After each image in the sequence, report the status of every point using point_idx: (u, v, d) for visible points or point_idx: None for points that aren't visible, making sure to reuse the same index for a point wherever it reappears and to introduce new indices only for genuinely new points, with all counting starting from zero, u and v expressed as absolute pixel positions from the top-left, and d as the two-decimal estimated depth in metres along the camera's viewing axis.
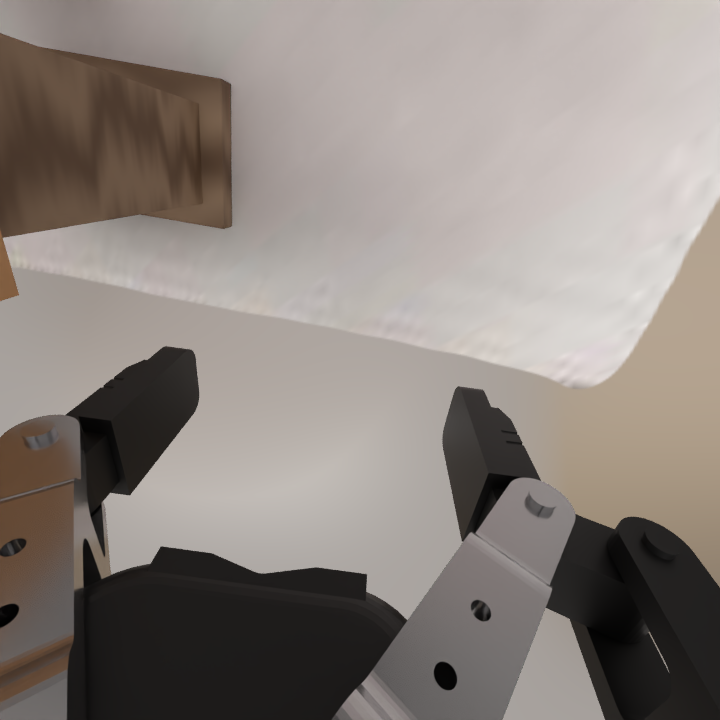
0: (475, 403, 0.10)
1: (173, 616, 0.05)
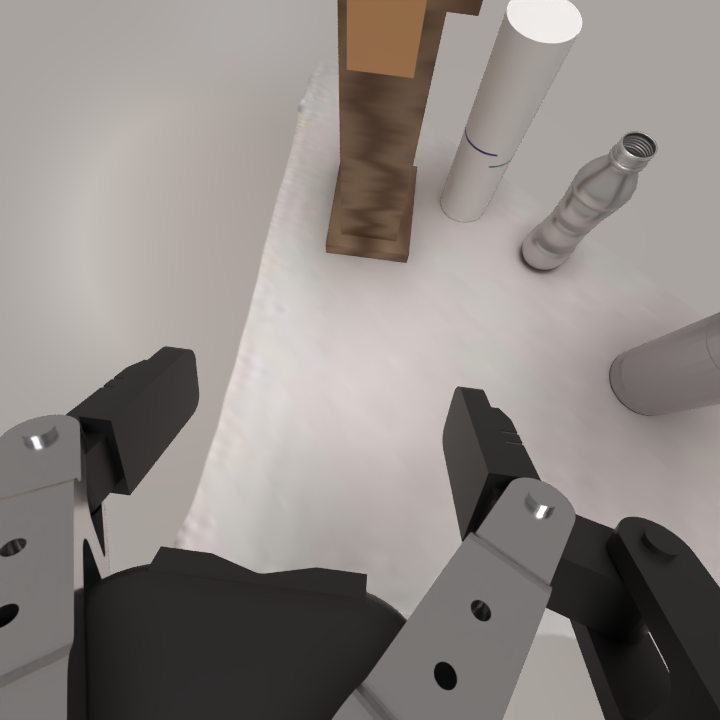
0: (475, 403, 0.10)
1: (173, 616, 0.05)
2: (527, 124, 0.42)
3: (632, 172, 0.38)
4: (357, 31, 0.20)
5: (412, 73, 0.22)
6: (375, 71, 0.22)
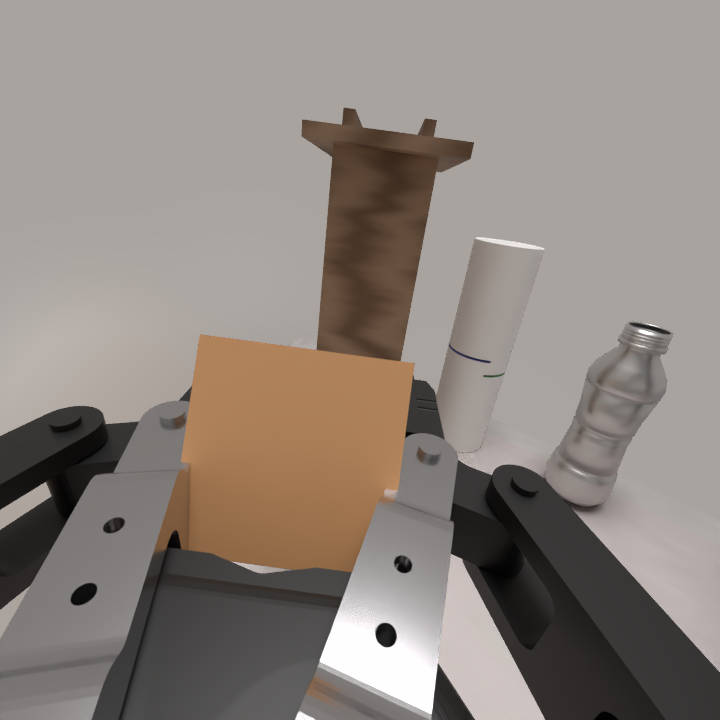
0: None
1: (173, 616, 0.05)
2: (515, 331, 0.40)
3: (658, 352, 0.33)
4: (214, 444, 0.07)
5: None
6: (263, 561, 0.07)
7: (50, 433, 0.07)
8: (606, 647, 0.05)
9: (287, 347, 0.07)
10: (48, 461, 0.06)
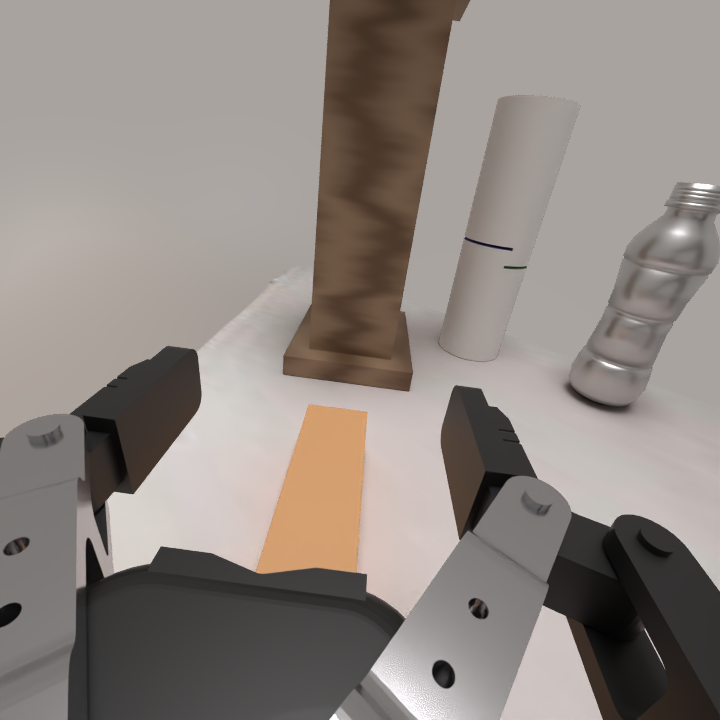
0: (473, 402, 0.10)
1: (173, 616, 0.05)
2: (542, 212, 0.35)
3: (715, 210, 0.28)
4: None
5: None
6: None
7: None
8: None
9: None
10: None
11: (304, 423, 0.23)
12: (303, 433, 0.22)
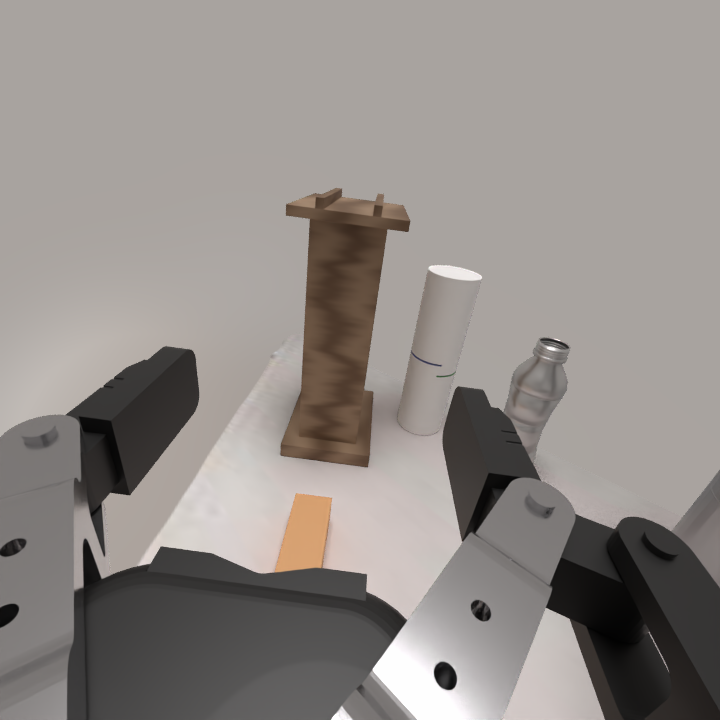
0: (475, 403, 0.10)
1: (173, 616, 0.05)
2: (460, 341, 0.51)
3: (558, 362, 0.44)
4: None
5: None
6: None
7: None
8: None
9: None
10: None
11: (292, 508, 0.39)
12: (292, 516, 0.38)
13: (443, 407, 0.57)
